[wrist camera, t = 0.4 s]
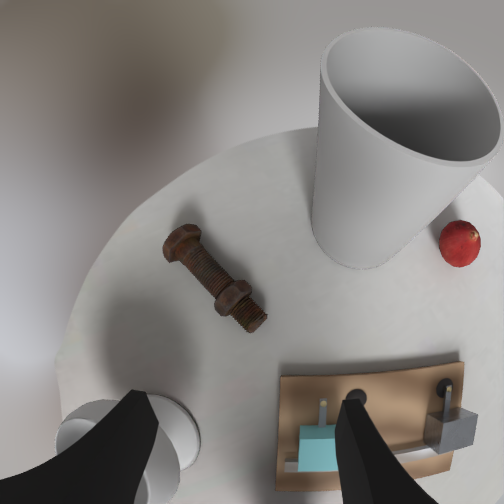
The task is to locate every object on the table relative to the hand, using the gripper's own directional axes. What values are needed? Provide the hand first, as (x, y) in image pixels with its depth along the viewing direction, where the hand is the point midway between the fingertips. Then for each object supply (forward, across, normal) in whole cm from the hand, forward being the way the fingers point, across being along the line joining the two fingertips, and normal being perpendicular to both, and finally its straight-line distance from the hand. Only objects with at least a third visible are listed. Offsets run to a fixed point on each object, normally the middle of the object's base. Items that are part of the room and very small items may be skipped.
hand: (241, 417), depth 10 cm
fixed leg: (+13, -22, +21) cm, 33 cm away
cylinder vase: (+31, -12, +2) cm, 33 cm away
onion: (+28, -24, +5) cm, 37 cm away
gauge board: (+14, -13, +24) cm, 30 cm away
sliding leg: (+14, -6, +21) cm, 26 cm away
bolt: (+27, +6, +9) cm, 29 cm away
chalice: (+14, +15, +26) cm, 33 cm away
